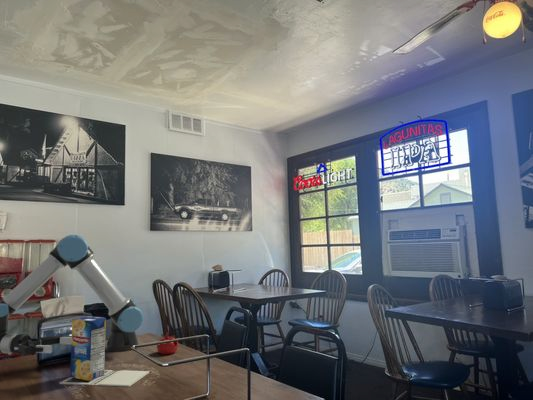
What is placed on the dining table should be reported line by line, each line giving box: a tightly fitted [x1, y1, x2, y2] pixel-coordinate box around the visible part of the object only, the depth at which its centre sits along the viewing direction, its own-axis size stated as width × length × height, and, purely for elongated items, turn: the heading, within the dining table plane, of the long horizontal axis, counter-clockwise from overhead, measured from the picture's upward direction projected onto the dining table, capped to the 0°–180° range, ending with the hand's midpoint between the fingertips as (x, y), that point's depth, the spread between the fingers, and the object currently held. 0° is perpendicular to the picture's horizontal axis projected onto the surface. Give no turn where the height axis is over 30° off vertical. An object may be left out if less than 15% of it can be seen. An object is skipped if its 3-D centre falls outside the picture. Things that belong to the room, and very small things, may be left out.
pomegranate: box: [156, 332, 179, 355], centre depth 188 cm, size 10×10×9 cm
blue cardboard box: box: [69, 315, 107, 382], centre depth 155 cm, size 7×11×22 cm, turn 63°
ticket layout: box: [59, 369, 150, 388], centre depth 152 cm, size 16×28×1 cm, turn 81°
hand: (63, 344), depth 157 cm, fingers open, 13 cm apart
